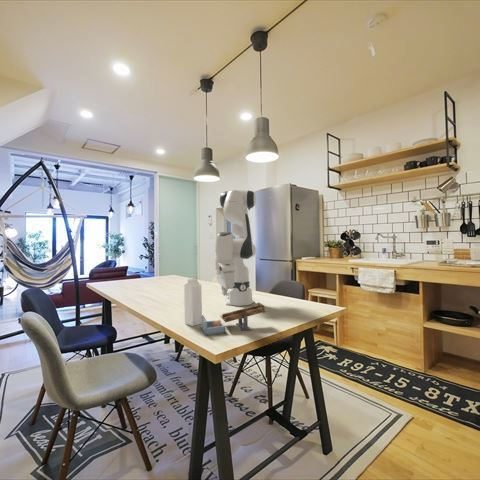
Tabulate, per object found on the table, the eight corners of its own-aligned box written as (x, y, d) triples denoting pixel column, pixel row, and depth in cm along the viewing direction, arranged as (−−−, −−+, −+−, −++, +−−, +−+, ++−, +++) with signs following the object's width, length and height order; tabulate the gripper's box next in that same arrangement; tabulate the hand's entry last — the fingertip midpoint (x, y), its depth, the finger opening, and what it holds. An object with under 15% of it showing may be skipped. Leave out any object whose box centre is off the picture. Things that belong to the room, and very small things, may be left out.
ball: (211, 326, 124) (213, 319, 124) (219, 327, 125) (220, 320, 125) (213, 329, 120) (214, 321, 121) (220, 330, 121) (222, 322, 122)
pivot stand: (243, 323, 132) (243, 310, 132) (250, 330, 122) (250, 315, 122) (235, 324, 131) (235, 310, 131) (242, 331, 121) (241, 316, 121)
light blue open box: (201, 328, 126) (201, 315, 126) (220, 326, 128) (220, 313, 128) (204, 335, 116) (204, 321, 116) (225, 333, 119) (225, 319, 119)
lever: (256, 308, 138) (255, 299, 138) (265, 314, 126) (264, 305, 126) (220, 318, 132) (218, 309, 132) (226, 325, 121) (224, 315, 121)
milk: (202, 323, 134) (201, 278, 134) (192, 326, 129) (192, 279, 129) (193, 321, 138) (193, 277, 138) (184, 323, 133) (184, 278, 133)
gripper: (213, 264, 139) (214, 291, 140) (222, 268, 120) (223, 299, 120) (225, 263, 141) (226, 290, 141) (236, 268, 122) (236, 299, 122)
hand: (224, 294), depth 130 cm, fingers closed
